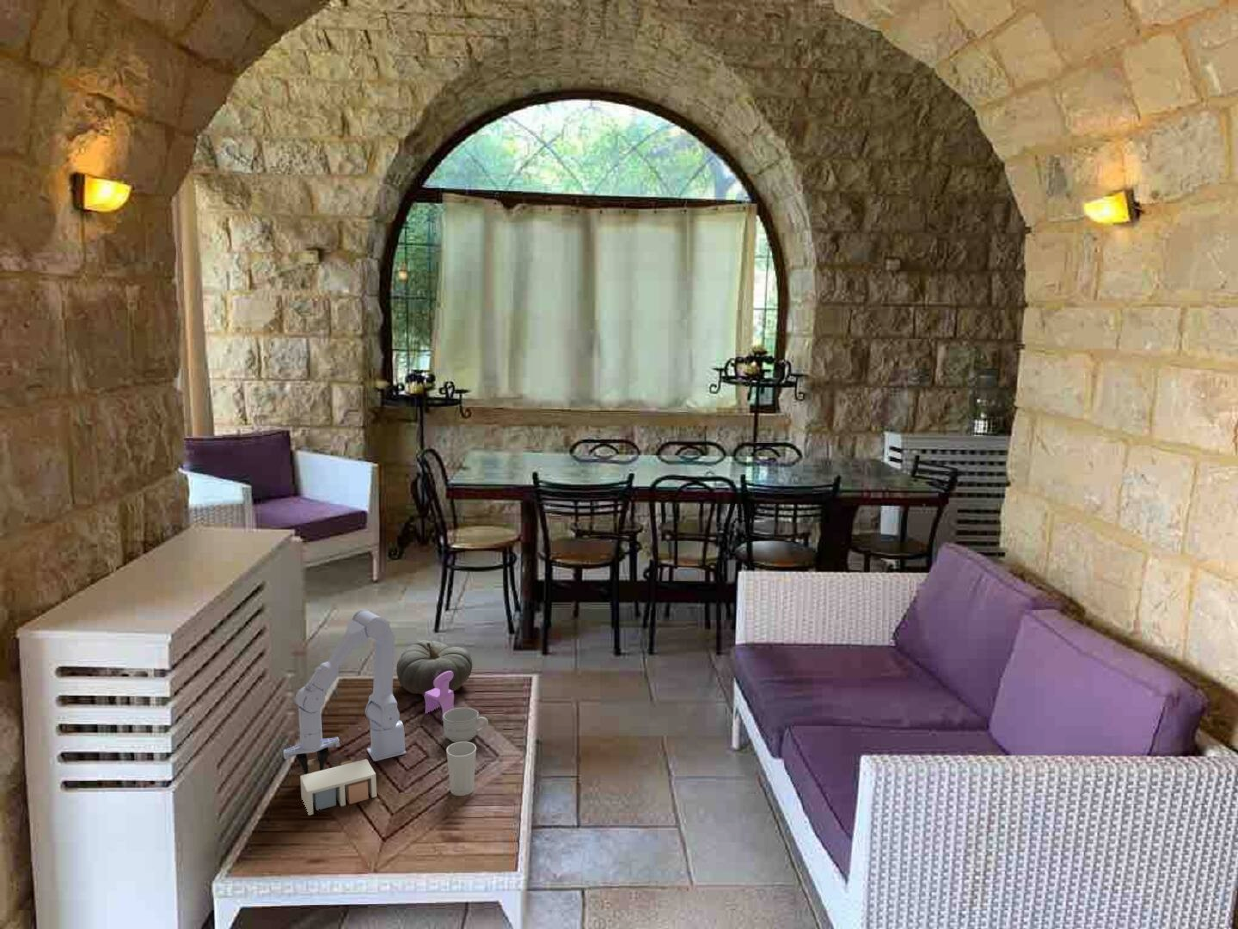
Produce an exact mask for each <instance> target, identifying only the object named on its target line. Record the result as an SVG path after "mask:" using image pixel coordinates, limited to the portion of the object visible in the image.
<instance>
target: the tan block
mask: <svg viewBox="0 0 1238 929" xmlns="http://www.w3.org/2000/svg"><path fill="white" fill-rule="evenodd" d="M353 762H354V761H353V760H352V759H350V760H346V761H342V762H340V764H341V765H345V764H349V763H353ZM341 765H340V766H341ZM345 799H346V800H347V802H348V804H349V805H352V804H355V803H358V802H362V801H366V800H369V791H368V781H367V780H362V781H358V782H354V783H350V784H347V785H345Z"/></svg>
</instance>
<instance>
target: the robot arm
mask: <svg viewBox="0 0 1238 929" xmlns="http://www.w3.org/2000/svg"><path fill="white" fill-rule="evenodd" d="M390 625H391V624H390V621H389V620H387V619H386V618H384V617H382V616H379V615H377V614H375V613H373V611H370V610H368V609H366V608H365V609H363V608H362V609H359V610H357V611H356V612H355V613H354V614H353V616H352V619H350V620H349V622H347V626H346V631H345V632H344V634H343V636H342V637H341V639H340V641H339V643H338V644H337V646H336V647H335V649H334V650H333V652H332V654H331V655H330V657H329V658H328V660H327V661H325V662H321V663H320V664H319V665H318V666H317V667H315V669H314V672H313V675H311V677H310V679H309V680H308V682H307V683H305V684H304V686H303V687H301V688H300V689H298V691H297V692H296V695H295V697H294V698H293V701H294V703H295V705H296V706H297V707H298V724H299V738H300V739H299V741H300V743H298V744H296V745H293V746H291V747H288V748H285V749H283V758H284V760H288V759H290V758H291V757H296V759H297V761H298V763H299V764H300V766H301V767H302V772H303V775H305V774H308V760H309V759H308V756H307V754H312V753H316V756H317V757H316V758H317V759H318V761H319V765H320V771H321V770H324V767H325V764H326V761H327V759H328V758H329V754H330V750H329V748H334V747H335V748H338V747H340V746H341V745H340V739H339V737H338V736H335V737H328V738H323V728H322V727H323V726H322V707H323V706H324V705H325V703H326V702H325V700H326V699H325V697H326V696H327V692H329V689H331V686H333V684H334V682H335V681H336V680H337V678H338V677H339V675H340V674H339V668H340V667H341V665H342V664H343V663H344V662H345V660H346V659H347V658H348V656H349V655H350V654H351V653H352V651H353V650H354V649H355V647H356V646H357V645H360V644H365V643H369V642H370V639H372V640H373V641H374V659H373V660H374V662H373V665H374V666H373V687H372V688H373V689H372V693H371V694H369V696H368V701H367V704H366V706H365V710H364V711H365V712H364V713H365V717H366V718H368V719H369V733H370V747H367V748H366V751H367V752H368V754H369V756H370V758H371V759H372V761H373V762H378V761H382V760H385V759H389V758H393V757H399V756H401V755H405V754H407V751H406V740H405V739H406V738H405V737H406V736H405V727H404V724H403V722H402V720H400V715H401V714H400V711H399V709H398V702H397V699H396V698H395V696H394V693H393V689H394V688H393V686H394V684H393V683H394V665H395V664H394V662H395V661H394V660H395V642H396V641H395V640H396V638H395V632H394V631H393V629H392V627H391V626H390ZM369 638H370V639H369Z"/></svg>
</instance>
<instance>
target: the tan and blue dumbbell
mask: <svg viewBox="0 0 1238 929" xmlns="http://www.w3.org/2000/svg"><path fill="white" fill-rule="evenodd" d="M317 771H320V765H319V761H318V758H317V757H316V758H313V759H308V774H309V773H313V772H317ZM312 798H313V803H314V804H313V806H314V805H315V806H314V808H315V810H317V811H320V810H323V809H327V808H332V807H335V806H336V805H337V797H336V794H335V788H332V789H328V790H324V791H320V792H316V793H313V794H312ZM319 809H320V810H319Z"/></svg>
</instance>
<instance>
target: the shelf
mask: <svg viewBox="0 0 1238 929" xmlns="http://www.w3.org/2000/svg"><path fill="white" fill-rule="evenodd" d="M299 777H300V794H301V797H300V798H301V801H302V800H303V801H302V803H303V802H304V803H303V805H305V806H304V808H305V807H306V808H305V810H306V809H307V810H306V812H308V813H307V815H308V816H312V815H314V804H313V798H312V794H313V793H316V792H320V791H324V790H328V789H332V788H335V794H336V800H337V801H338V803H339V805H340V807H344V806H346V796H345V785H347V784H350V783H354V782H358V781H362V780H367V781H368V794H369V795H370V796H371V798H376V797H378V796H377V794H378V793H377V773H376V772H375V771H374V768H373V767H372V765H371V764H370V762H369V760H368V759H367V758H364V759H362V760H357V761H353V763H349V764H345V765H337V766H334V767H331V768H326V769H323V770H321V771H317V772H313V773H309V774H305V775H304V774H302V775H300V776H299Z"/></svg>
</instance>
